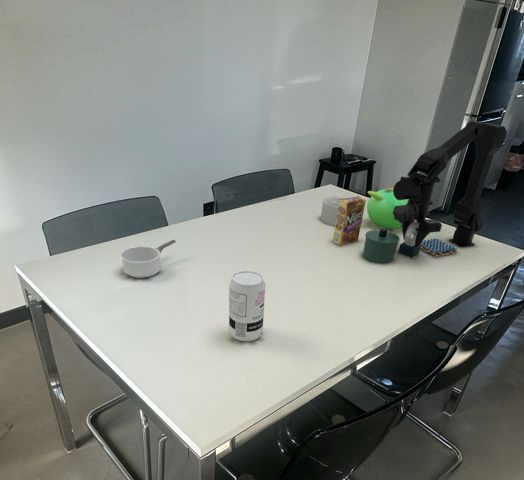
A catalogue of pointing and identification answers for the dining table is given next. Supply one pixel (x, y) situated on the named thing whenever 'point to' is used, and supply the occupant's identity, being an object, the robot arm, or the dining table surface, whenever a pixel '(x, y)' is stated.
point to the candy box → (349, 220)
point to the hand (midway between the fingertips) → (410, 243)
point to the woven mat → (437, 247)
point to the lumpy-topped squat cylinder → (330, 210)
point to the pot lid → (382, 236)
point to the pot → (379, 252)
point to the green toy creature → (384, 208)
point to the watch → (410, 242)
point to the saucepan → (142, 260)
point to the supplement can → (246, 305)
